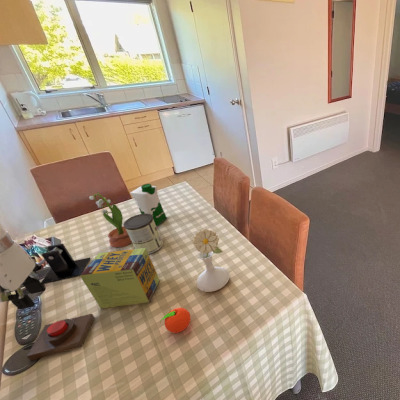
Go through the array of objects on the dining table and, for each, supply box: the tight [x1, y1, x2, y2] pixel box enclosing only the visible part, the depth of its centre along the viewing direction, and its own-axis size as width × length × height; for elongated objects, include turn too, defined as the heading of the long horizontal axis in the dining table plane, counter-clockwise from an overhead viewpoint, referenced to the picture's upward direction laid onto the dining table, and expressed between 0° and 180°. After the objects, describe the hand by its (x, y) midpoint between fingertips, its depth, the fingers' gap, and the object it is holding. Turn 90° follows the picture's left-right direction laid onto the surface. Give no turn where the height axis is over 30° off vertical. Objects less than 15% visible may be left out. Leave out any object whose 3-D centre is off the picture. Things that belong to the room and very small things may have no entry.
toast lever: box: [35, 247, 63, 272], centre depth 97 cm, size 12×3×3 cm
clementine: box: [159, 307, 191, 334], centre depth 80 cm, size 8×7×7 cm
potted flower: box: [89, 191, 133, 248], centre depth 112 cm, size 12×10×25 cm
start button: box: [47, 320, 68, 337], centre depth 77 cm, size 4×4×2 cm
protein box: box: [79, 248, 161, 309], centre depth 89 cm, size 10×15×16 cm
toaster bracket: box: [40, 243, 91, 285], centre depth 99 cm, size 12×10×12 cm
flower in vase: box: [192, 228, 231, 293], centre depth 91 cm, size 13×11×25 cm
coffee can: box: [122, 213, 164, 255], centre depth 111 cm, size 10×10×14 cm
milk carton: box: [129, 183, 168, 227], centre depth 127 cm, size 9×9×20 cm
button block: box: [26, 313, 96, 361], centre depth 78 cm, size 12×10×4 cm
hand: (32, 298), depth 71 cm, fingers open, 4 cm apart
